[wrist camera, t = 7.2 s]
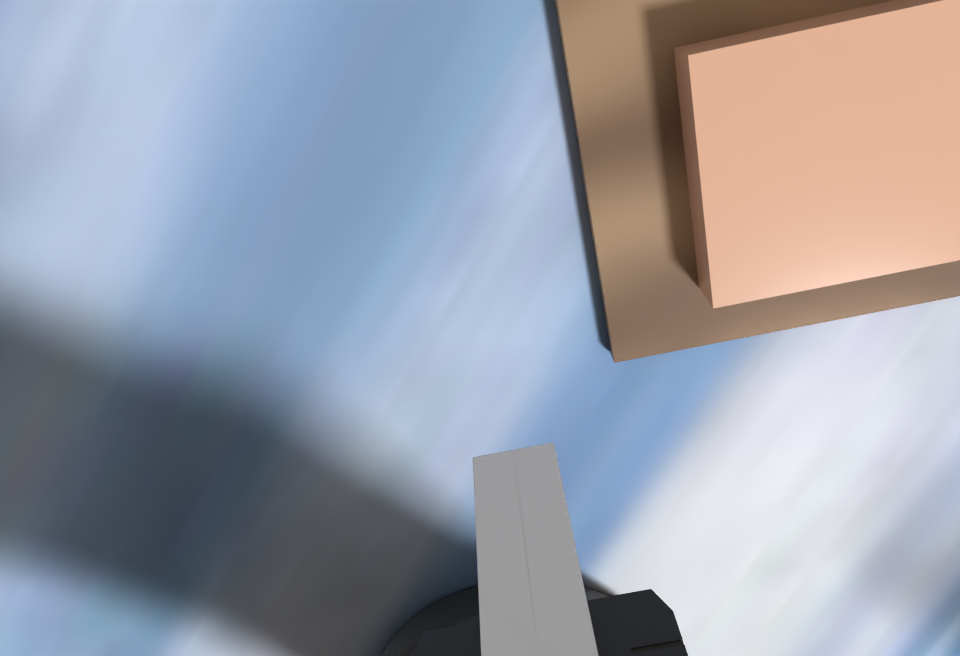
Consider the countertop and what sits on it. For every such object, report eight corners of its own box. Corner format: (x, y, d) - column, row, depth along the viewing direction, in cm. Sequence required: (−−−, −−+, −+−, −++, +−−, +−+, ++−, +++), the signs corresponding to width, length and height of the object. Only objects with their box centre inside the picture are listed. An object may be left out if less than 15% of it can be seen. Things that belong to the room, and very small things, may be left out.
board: (959, 285, 34) (970, 293, 33) (610, 353, 35) (614, 362, 34) (975, -170, 27) (989, -173, 26) (543, -72, 28) (545, -72, 27)
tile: (698, 287, 33) (936, 240, 32) (713, 308, 31) (965, 259, 30) (673, 47, 29) (941, -11, 28) (687, 55, 27) (974, -7, 26)
